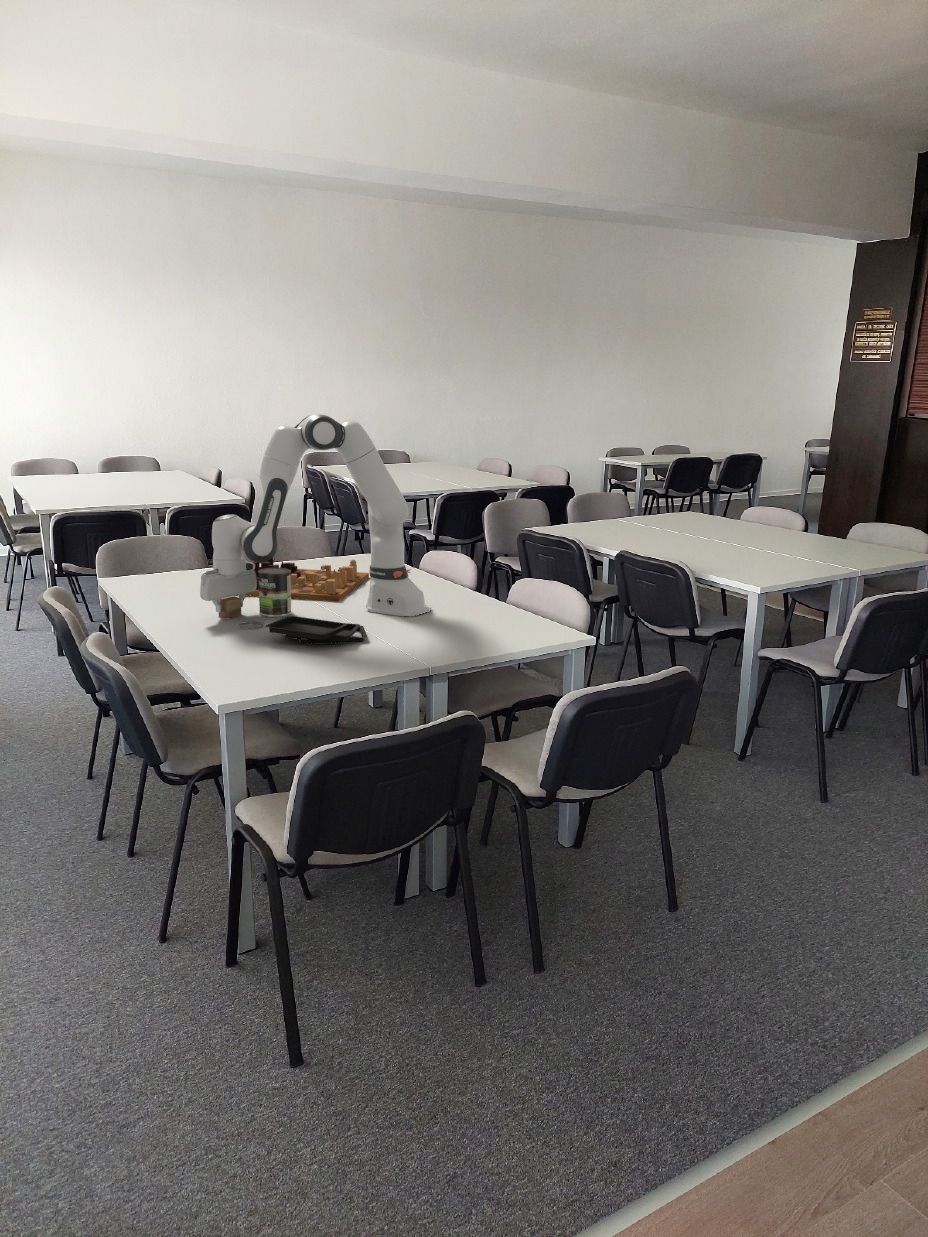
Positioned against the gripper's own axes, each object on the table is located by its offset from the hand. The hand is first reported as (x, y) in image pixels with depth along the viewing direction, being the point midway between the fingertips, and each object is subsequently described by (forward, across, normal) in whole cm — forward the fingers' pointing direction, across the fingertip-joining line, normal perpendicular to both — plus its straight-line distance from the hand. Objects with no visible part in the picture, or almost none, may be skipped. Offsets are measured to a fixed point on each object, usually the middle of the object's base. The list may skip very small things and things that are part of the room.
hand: (229, 609), depth 284 cm
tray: (+3, -2, -41) cm, 41 cm away
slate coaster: (+3, -4, -14) cm, 15 cm away
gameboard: (+3, +46, +14) cm, 48 cm away
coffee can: (+2, +12, -8) cm, 15 cm away
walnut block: (+2, 0, 0) cm, 2 cm away
